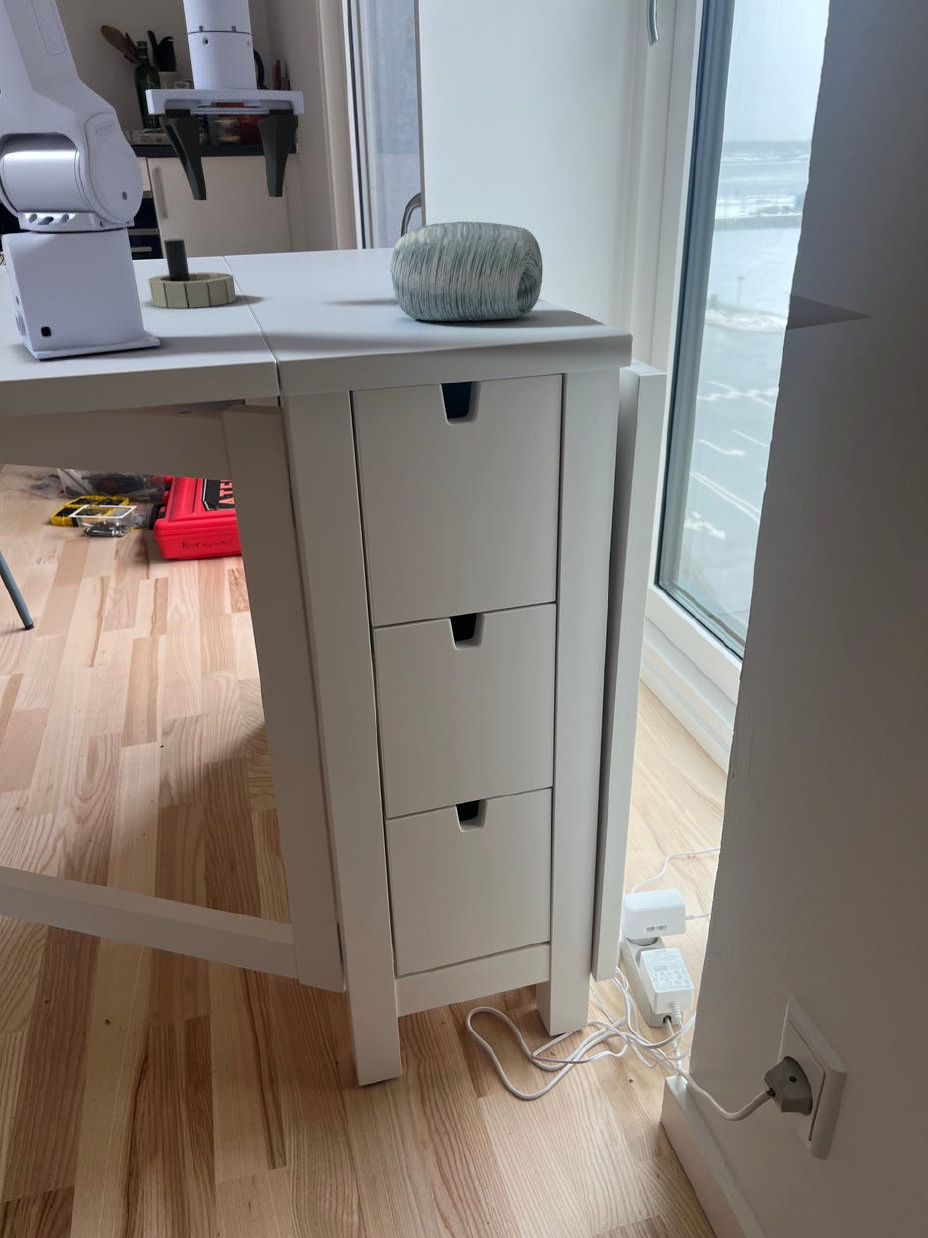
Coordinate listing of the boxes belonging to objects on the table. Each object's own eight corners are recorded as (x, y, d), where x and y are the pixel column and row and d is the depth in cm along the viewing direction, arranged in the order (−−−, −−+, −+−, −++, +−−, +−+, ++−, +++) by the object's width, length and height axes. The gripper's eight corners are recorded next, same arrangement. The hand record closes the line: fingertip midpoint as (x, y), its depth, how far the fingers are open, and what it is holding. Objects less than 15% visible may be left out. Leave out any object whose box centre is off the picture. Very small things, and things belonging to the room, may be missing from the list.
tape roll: (186, 310, 91) (182, 284, 90) (136, 303, 96) (132, 279, 95) (251, 299, 97) (248, 275, 96) (201, 293, 102) (198, 270, 101)
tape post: (176, 303, 96) (166, 241, 93) (171, 300, 97) (161, 239, 95) (195, 301, 97) (186, 239, 94) (189, 298, 98) (181, 238, 95)
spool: (552, 271, 87) (526, 173, 80) (555, 335, 82) (528, 235, 74) (417, 306, 91) (379, 215, 83) (411, 369, 85) (371, 278, 78)
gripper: (279, 42, 90) (293, 193, 97) (128, 36, 84) (154, 199, 90) (306, 34, 85) (319, 196, 91) (147, 28, 79) (173, 202, 85)
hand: (238, 198), depth 90 cm, fingers open, 7 cm apart
